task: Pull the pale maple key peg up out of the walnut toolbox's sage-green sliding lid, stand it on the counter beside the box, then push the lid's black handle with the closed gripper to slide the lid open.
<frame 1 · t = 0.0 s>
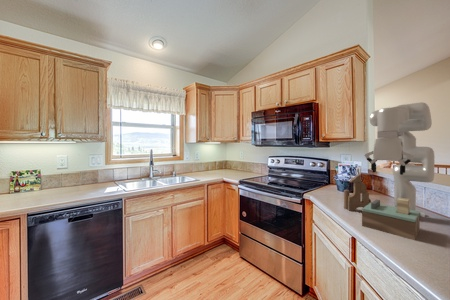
hand: (387, 173, 87), 31 cm above the worktop, fingers open, 9 cm apart
adjustable wrench: (410, 211, 128), on the worktop
toolbox: (389, 230, 99), on the worktop
wooden toy: (357, 210, 129), on the worktop
key: (403, 231, 95), point 1 cm above the worktop, touching toolbox
lid: (390, 208, 99), point 11 cm above the worktop, slide at 0.0 cm
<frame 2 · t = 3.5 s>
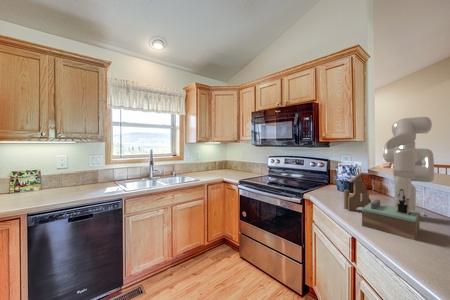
hand: (403, 210, 95), 11 cm above the worktop, fingers closed on key, 4 cm apart
key: (403, 231, 95), point 1 cm above the worktop, touching gripper, toolbox
everything else where it was.
when the fingers open (12 cm above the worktop, at t = 10.8 s): key stays where it is, on the worktop.
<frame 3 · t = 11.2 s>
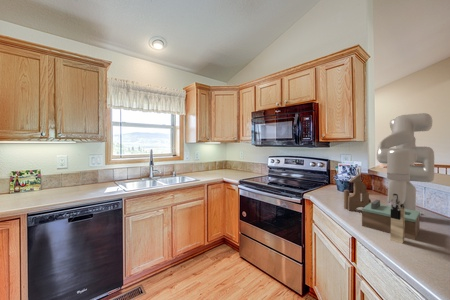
hand: (397, 216, 86), 12 cm above the worktop, fingers open, 7 cm apart
adjustable wrench: (406, 209, 130), on the worktop
key: (397, 243, 86), on the worktop
everything else where it was.
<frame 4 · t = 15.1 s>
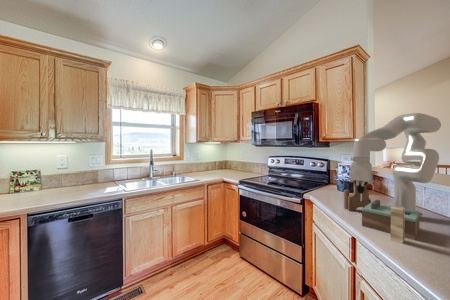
hand: (360, 192, 108), 17 cm above the worktop, fingers closed
adjustable wrench: (407, 208, 130), on the worktop, touching arm
everything else where it was.
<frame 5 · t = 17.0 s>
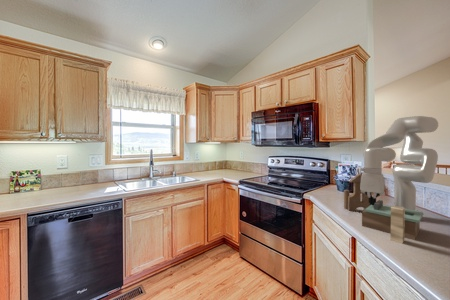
hand: (372, 204, 105), 11 cm above the worktop, fingers closed
lid: (393, 208, 98), point 11 cm above the worktop, slide at 1.3 cm, touching gripper
everything else where it was.
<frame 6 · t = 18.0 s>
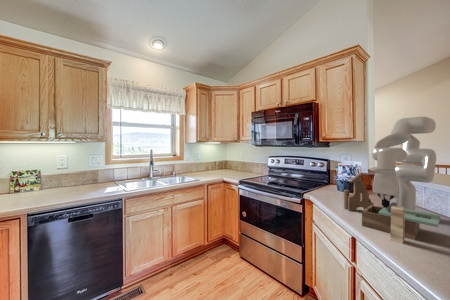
hand: (385, 207, 100), 11 cm above the worktop, fingers closed
lid: (408, 211, 93), point 11 cm above the worktop, slide at 6.9 cm, touching gripper
everything else where it was.
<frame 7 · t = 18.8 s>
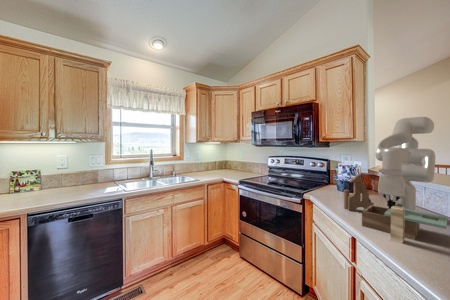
hand: (391, 208, 98), 11 cm above the worktop, fingers closed
lid: (415, 213, 92), point 11 cm above the worktop, slide at 9.2 cm, touching gripper
everything else where it was.
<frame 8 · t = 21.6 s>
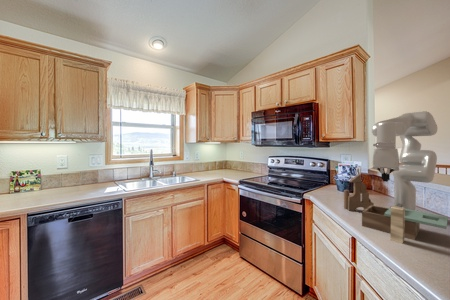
hand: (385, 181, 100), 25 cm above the worktop, fingers closed
lid: (415, 213, 92), point 11 cm above the worktop, slide at 9.2 cm
everything else where it was.
at the end: lid slide at 9.2 cm; key inside the target area (0.1 cm from its centre), on the worktop; key tilted 0° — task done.
